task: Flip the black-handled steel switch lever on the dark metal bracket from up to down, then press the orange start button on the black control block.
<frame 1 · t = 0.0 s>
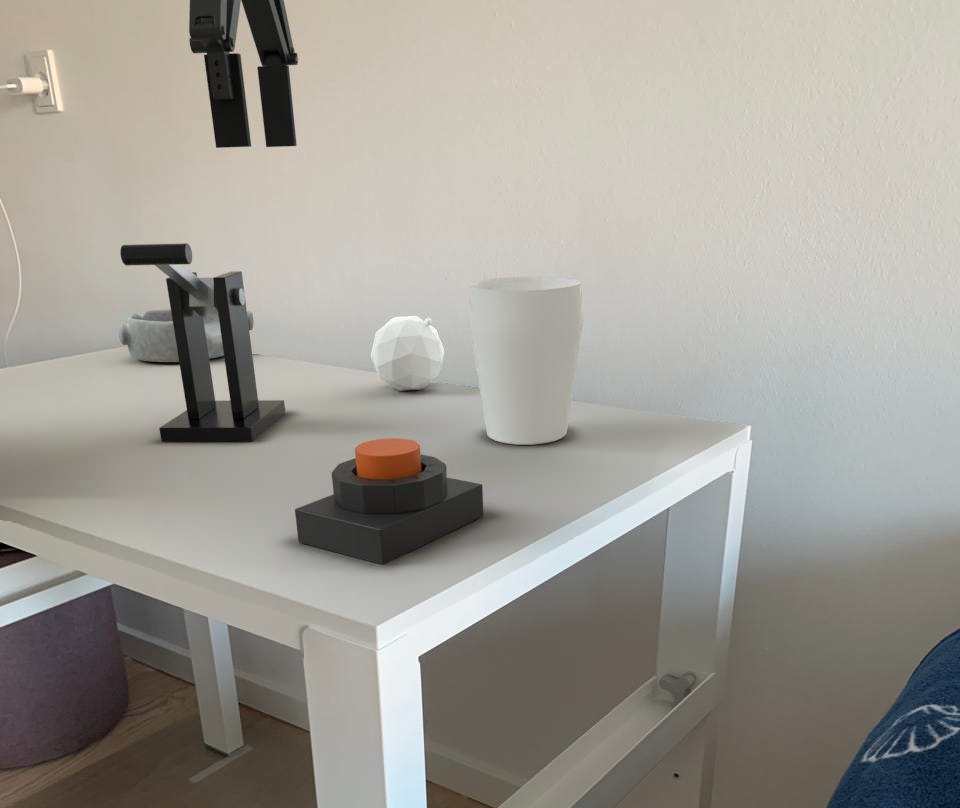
hand: (259, 147, 87), 22 cm above the table, tool pointing down, fingers open, 13 cm apart
cup: (526, 437, 84), on the table
switch bracket: (226, 426, 89), on the table
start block: (393, 529, 64), on the table
switch: (185, 278, 80), point 13 cm above the table, hinge at 25.0°
dish: (187, 356, 122), on the table
ornament: (410, 390, 101), on the table
start button: (388, 460, 62), point 4 cm above the table, slide at 0.1 cm
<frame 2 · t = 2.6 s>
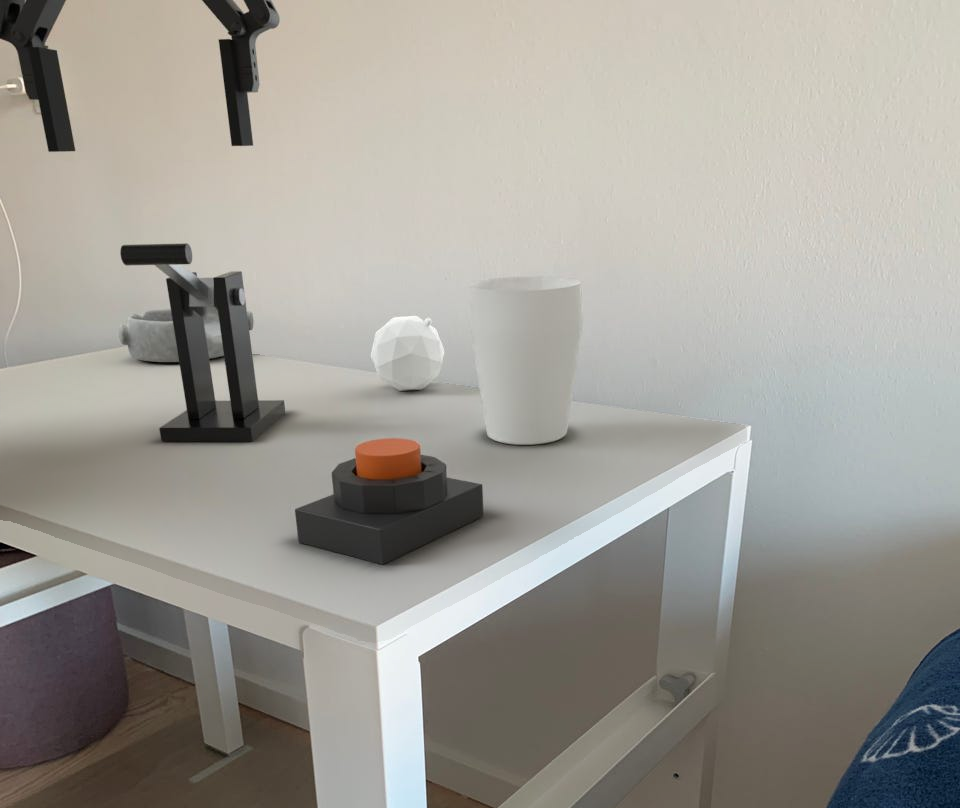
hand: (151, 149, 73), 22 cm above the table, tool pointing down, fingers open, 13 cm apart
nothing on the table moved.
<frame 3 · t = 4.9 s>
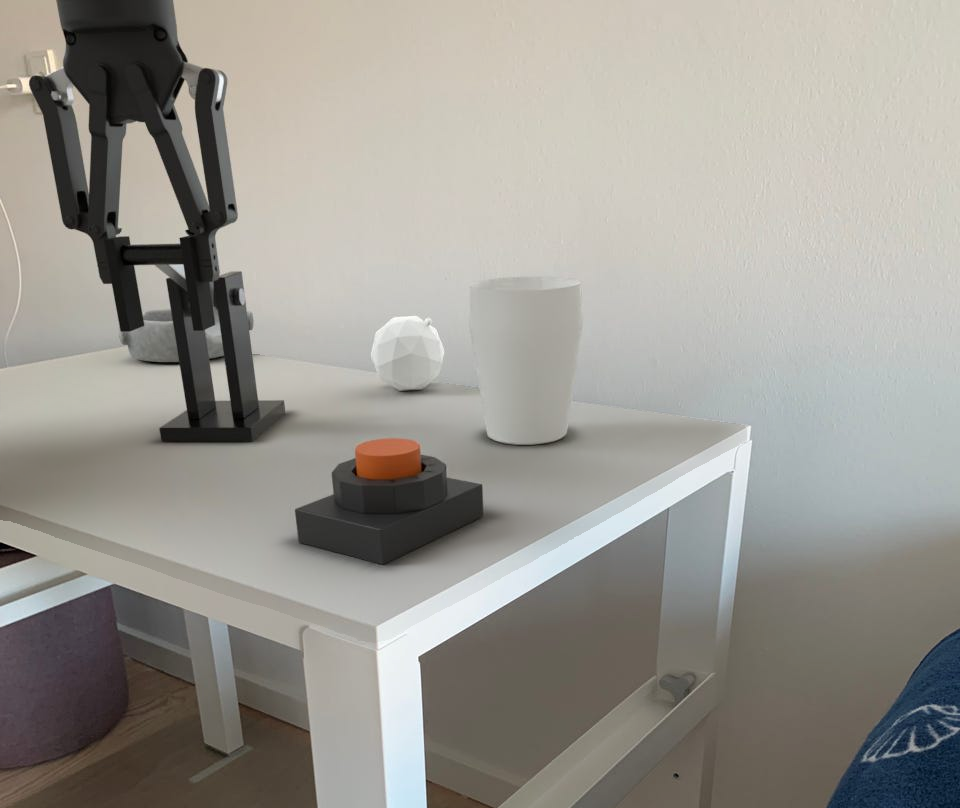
hand: (168, 327, 77), 10 cm above the table, tool pointing down, fingers closed on switch, 5 cm apart
switch: (185, 278, 80), point 13 cm above the table, hinge at 25.0°, touching gripper
everything else where it was.
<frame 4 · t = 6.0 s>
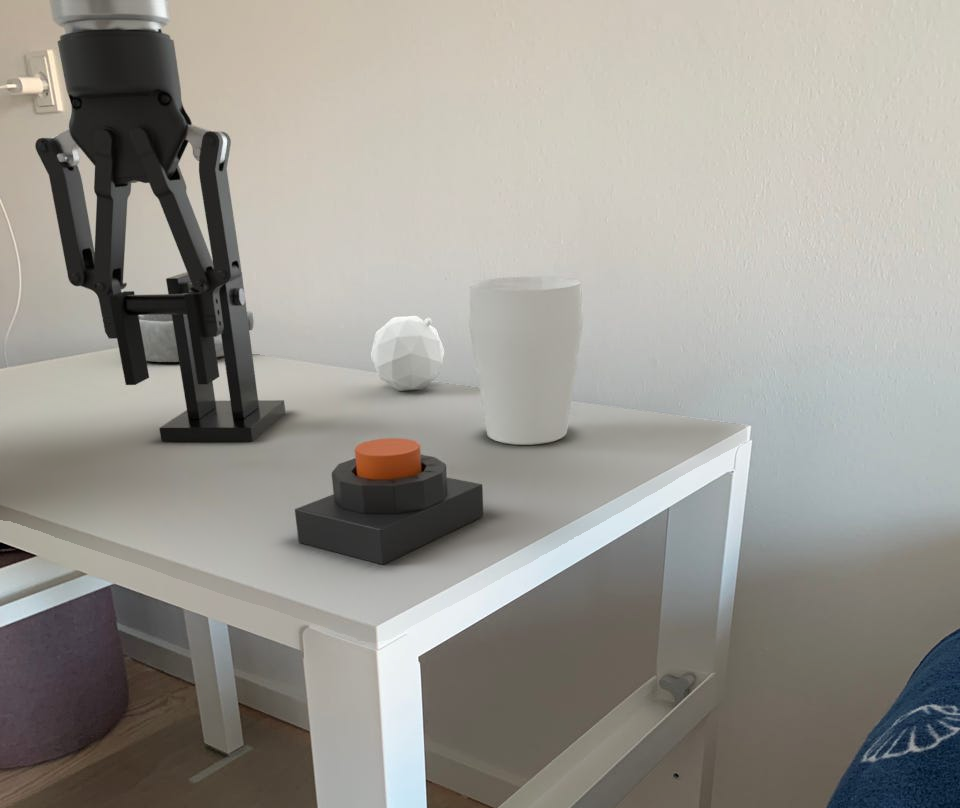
hand: (173, 380, 78), 6 cm above the table, tool pointing down, fingers closed on switch, 5 cm apart
switch: (186, 300, 80), point 11 cm above the table, hinge at 4.5°, touching gripper
everything else where it was.
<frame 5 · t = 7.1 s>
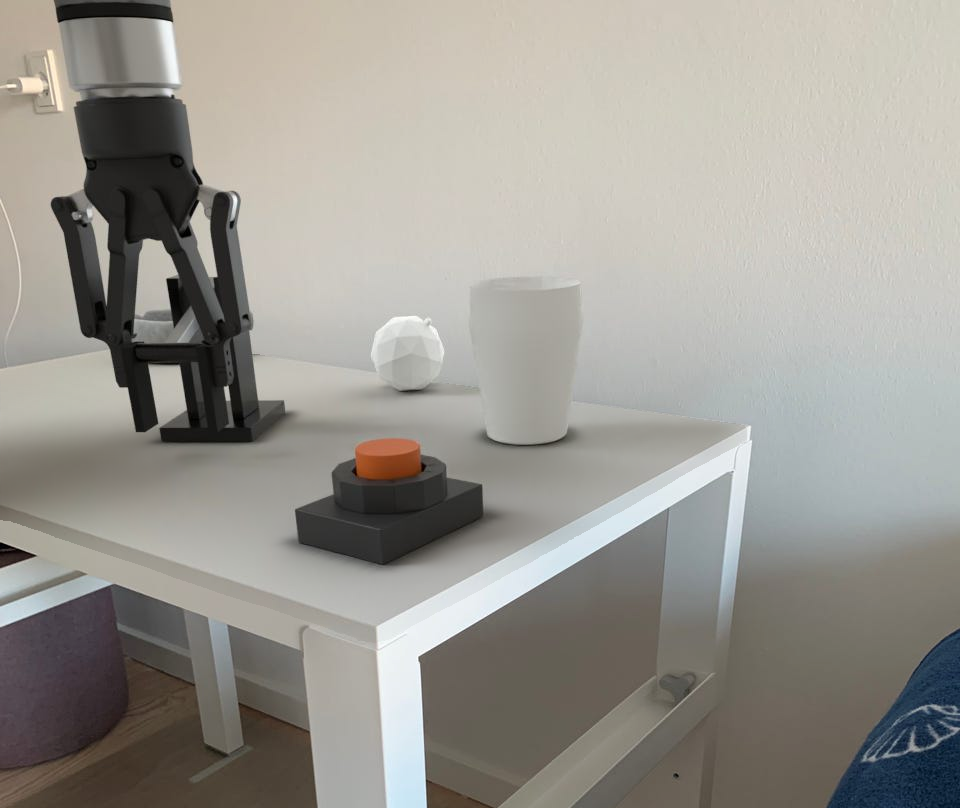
hand: (182, 427, 80), 2 cm above the table, tool pointing down, fingers open, 5 cm apart
switch: (190, 321, 81), point 10 cm above the table, hinge at -16.2°
everything else where it was.
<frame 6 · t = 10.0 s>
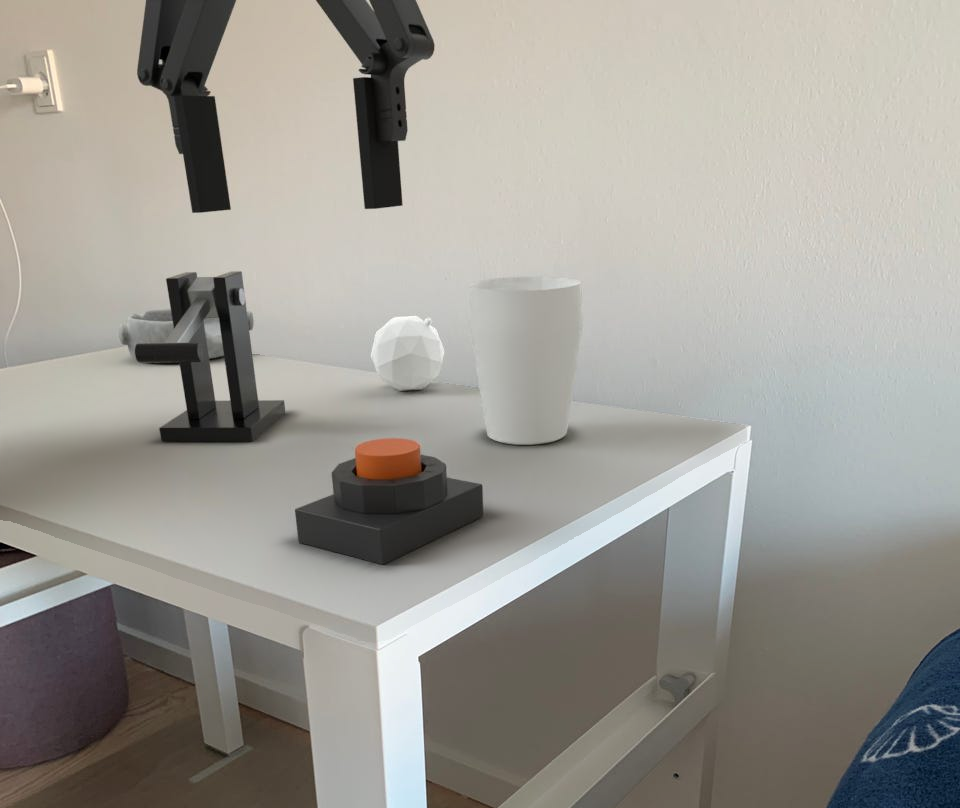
hand: (293, 210, 61), 19 cm above the table, tool pointing down, fingers open, 13 cm apart
nothing on the table moved.
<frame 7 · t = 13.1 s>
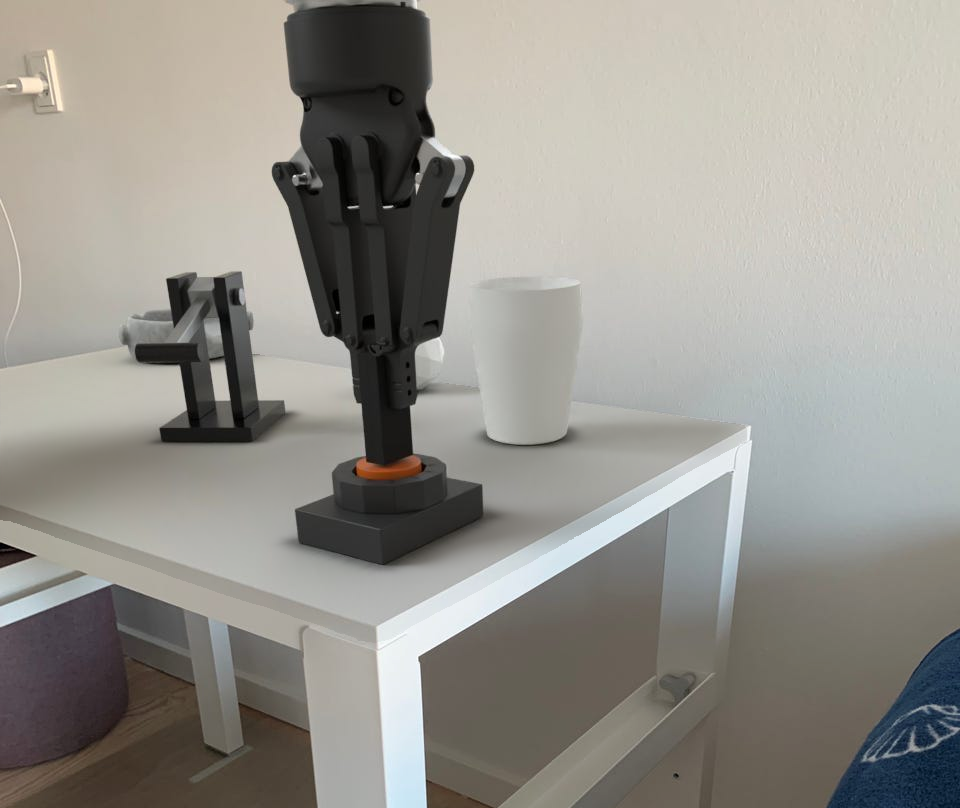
hand: (389, 458, 62), 5 cm above the table, tool pointing down, fingers closed
start button: (389, 475, 62), point 4 cm above the table, slide at -0.9 cm, touching gripper
everything else where it was.
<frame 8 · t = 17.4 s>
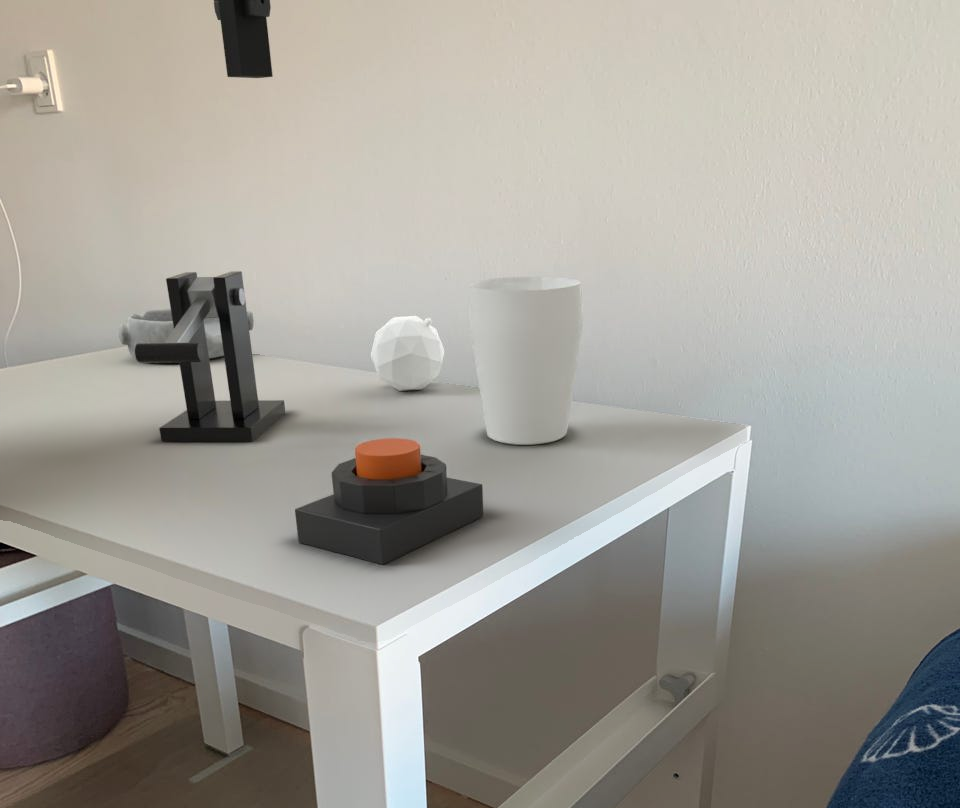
hand: (250, 76, 68), 26 cm above the table, tool pointing down, fingers closed
start button: (388, 460, 62), point 4 cm above the table, slide at 0.1 cm
everything else where it was.
at the end: switch at -16° (first picture: +25°); start button pushed in 1.0 cm at the most during the clip, back to where it started at the end; start button slide at 0.1 cm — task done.
